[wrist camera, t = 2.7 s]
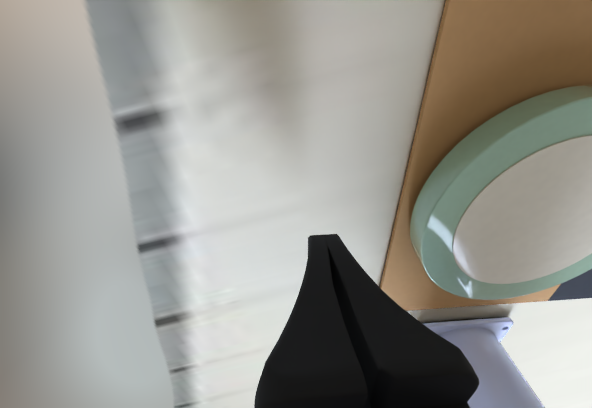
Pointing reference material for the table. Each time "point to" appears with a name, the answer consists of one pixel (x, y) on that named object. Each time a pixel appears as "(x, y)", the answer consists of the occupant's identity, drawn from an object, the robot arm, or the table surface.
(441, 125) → the desk mat
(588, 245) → the plate
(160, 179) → the table surface
